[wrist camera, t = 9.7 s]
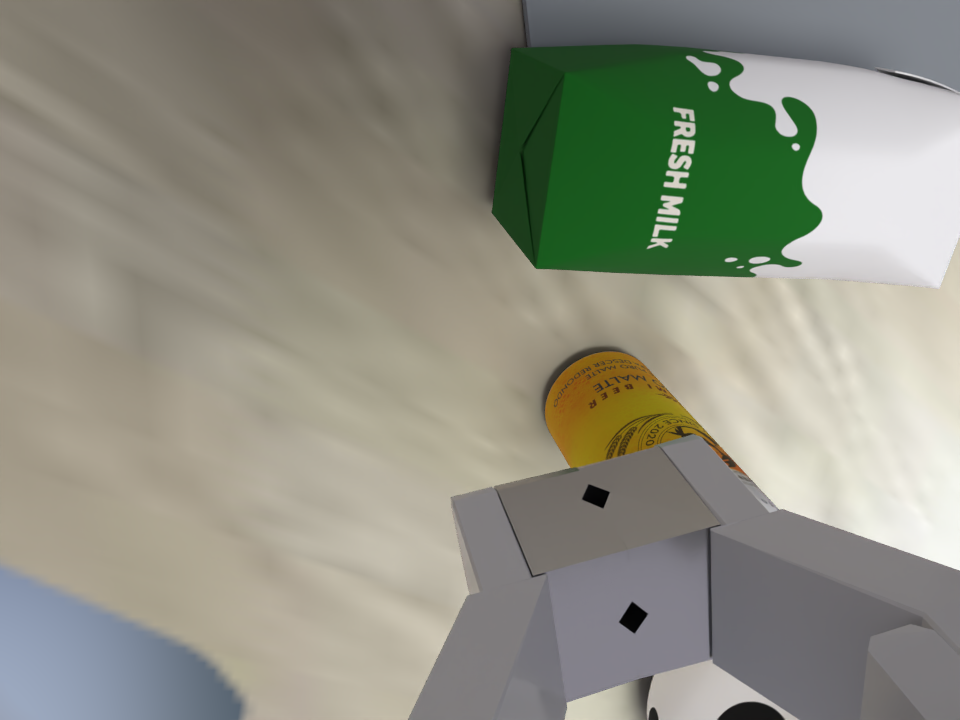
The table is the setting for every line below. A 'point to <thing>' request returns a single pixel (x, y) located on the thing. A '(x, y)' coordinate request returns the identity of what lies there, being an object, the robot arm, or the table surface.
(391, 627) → the table surface
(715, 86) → the white carton
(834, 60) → the mat
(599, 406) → the beer can
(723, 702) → the milk container
